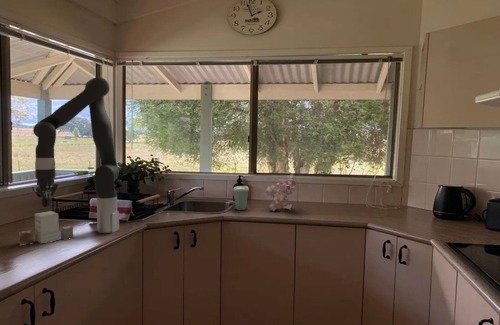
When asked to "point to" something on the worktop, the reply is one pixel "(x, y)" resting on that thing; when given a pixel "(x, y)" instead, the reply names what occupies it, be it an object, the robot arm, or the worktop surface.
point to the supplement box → (46, 227)
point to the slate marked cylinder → (66, 232)
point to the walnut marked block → (26, 237)
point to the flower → (285, 187)
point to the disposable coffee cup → (241, 196)
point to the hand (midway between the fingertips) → (46, 206)
